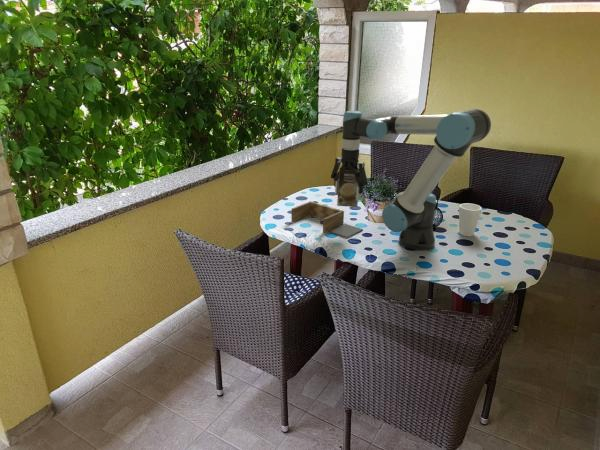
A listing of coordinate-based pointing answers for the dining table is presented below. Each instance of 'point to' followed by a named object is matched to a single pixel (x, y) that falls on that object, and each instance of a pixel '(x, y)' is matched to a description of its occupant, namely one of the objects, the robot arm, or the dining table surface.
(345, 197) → the coffee box
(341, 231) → the coaster
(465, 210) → the foam cup
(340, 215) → the wooden u-shaped bracket
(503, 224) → the dining table surface
